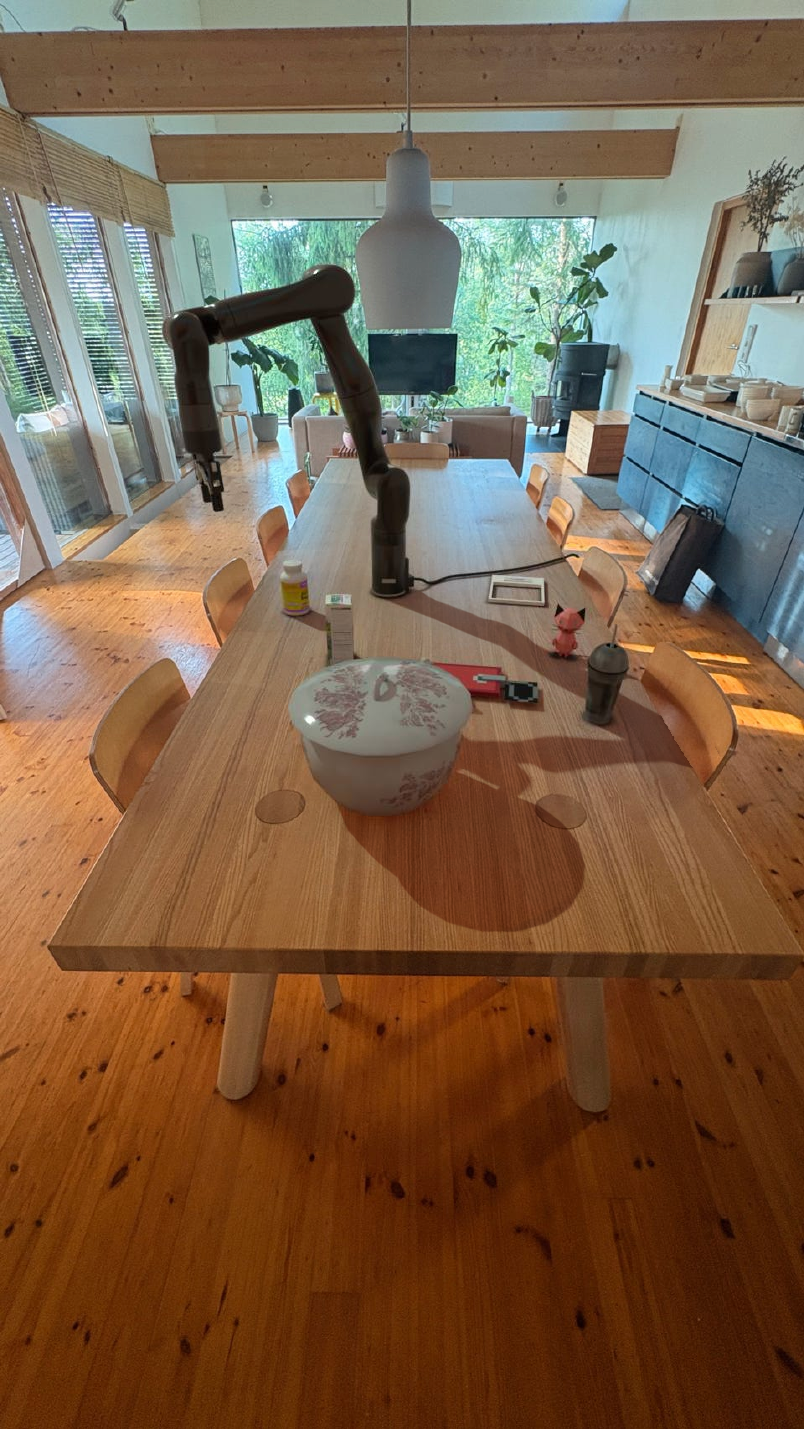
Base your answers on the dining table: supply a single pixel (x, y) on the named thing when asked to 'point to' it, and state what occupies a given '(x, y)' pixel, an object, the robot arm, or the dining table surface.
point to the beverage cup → (604, 680)
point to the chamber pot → (381, 731)
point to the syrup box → (339, 628)
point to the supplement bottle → (294, 588)
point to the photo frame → (521, 583)
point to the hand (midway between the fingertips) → (213, 506)
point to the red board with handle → (491, 682)
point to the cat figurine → (567, 630)
